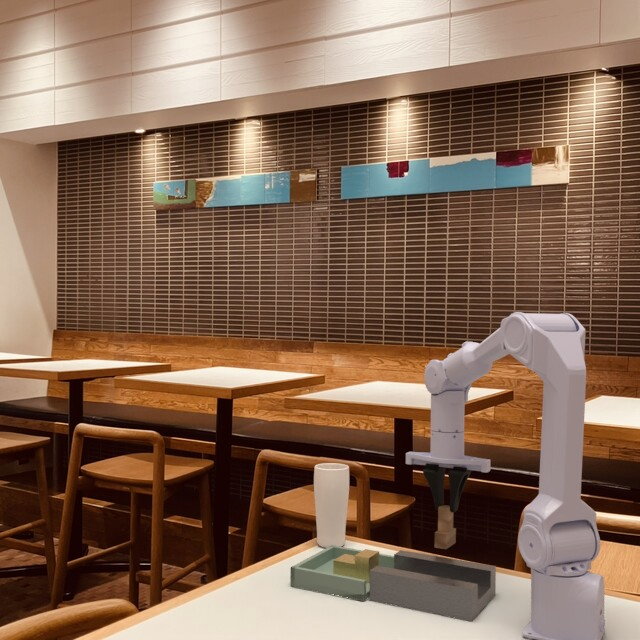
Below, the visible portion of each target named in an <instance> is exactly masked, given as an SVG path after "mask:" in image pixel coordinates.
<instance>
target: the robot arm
mask: <svg viewBox="0 0 640 640" xmlns="http://www.w3.org/2000/svg"><path fill="white" fill-rule="evenodd" d="M585 349H586V328H585V327H584V326H583V325H582V324H581V322H580V321H579V320H578V319H577V318H576V317H575V316H574V315H573V314H572V313H569V312H563V313H533V312H532V313H530V312H529V313H527V312H526V313H524V312H521V311H516V312H511V313H510V315H509V316H508V317H505V318H503V319H501V321H500V326H499V328H498V329H496V330H495V331H494V332H493V333H491V334H490V335H489V336H487V337H486V338H485V339H484V340H482V342H480V343H479V342H475V341H474V342H473V341H465V342H463V343H462V344H461V348H459V349H458V350H456V351H454V352H453V353H452V352H450V353H449V354H448V355H447V357H446V358H444V359H443V360H439V359H431V360H430V361H429V362H428V363H427V365H426V366H425V369H424V374H423V375H424V377H423V380H424V385H425V388H426V389H427V391H428V393H429V394H430V451H429V452H424V451H423V452H422V451H421V452H420V451H418V452H417V451H408V452H406V453H405V464H406V465H420V466H425V467H424V468H423V470H422V474H423V476H424V478H425V480H426V482H427V484H428V486H429V488H430V493H431V494H432V498H433V501H434V507H435V511H438V507H440V506H442V505H445V496H444V495H445V490H444V489H445V487H444V486H445V478H446V470H447V468H448V469H452V470H449V471H447V476H448V482H449V494H450V495H449V506H450V512H453V513H456V512H458V511H459V504H460V500H461V496H462V493H463V490H464V488H465V485H466V483H467V481H468V479H469V477H470V476H471V473H472V471H476V472H481V473H489V472H490V471H491V459H487V458H482V457H475V456H469V455H465V411H466V410H465V407H466V406H465V404H467V402H468V400H469V392H470V391H471V388H472V385H473V383H474V382H476V381H477V380H479V379H481V378H482V377H484V376H486V375H488V374H489V373H490V372H491V370H492V369H493V363H494V362H495V361H498V360H500V359H503V358H504V357H506V356H509V355H510V356H511V357H513V358H514V359H515V360H517V361H518V362H520V363H521V364H522V365H523V366H525V367H526V368H527V369H529V370H530V371H532V372H533V373H535V374H537V377H539V378H540V379H541V381H542V383H543V388H542V389H543V393H542V411H541V412H542V415H541V431H540V432H541V435H540V436H541V437H540V459H539V461H540V462H539V481H538V485H539V486H538V494H537V496H536V497H535V498H534V499H533V500H532V501H531V502H530V503H529V504H528V505H527V506H526V508H525V509H523V520H522V524H521V526H520V529H519V532H518V536H517V537H518V538H517V545H518V550H519V553H520V555H521V558H522V559H523V560H524V562H525V563H526V567H528V568H530V572H531V575H530V576H531V577H530V578H531V579H530V583H531V584H530V621H529V622H528V624H527V625H526V627H525V628H524V629H523V631H522V634H521V635H522V637H524V638H528V639H532V640H602V638H603V636H604V635H605V632H606V628H605V627H606V625H605V624H606V623H605V622H606V620H605V580H604V576H603V575H602V574H598V573H594V572H591V571H589V570H592V562H593V561H594V560H596V559H597V557H598V556H599V554H600V550H601V538H600V534H599V531H598V527H597V512H596V511H595V509H593V508H592V507H591V506H589V505H588V504H587V503H586V502H585V501H584V500H583V499H581V498H582V497H581V495H582V475H583V474H582V473H583V453H584V428H585V413H586V412H585V411H586V388H587V368H586V361H585V351H586V350H585Z"/></svg>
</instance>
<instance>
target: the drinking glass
mask: <svg viewBox="0 0 640 640" xmlns="http://www.w3.org/2000/svg"><path fill="white" fill-rule="evenodd" d="M313 470H314V471H313V496H314V506H315V521H316V542H317V545H318V546H319V547H322V548H324V549H326V548H328V547H330V546H331V545H333V546H339V547H344V545H345V543H346V528H347V527H346V526H347V516H348V506H349V496H350V494H349V492H350V466H349V465H348V464H344V463H334V462H327V463H326V462H324V463H318V464H315V465H314V469H313Z"/></svg>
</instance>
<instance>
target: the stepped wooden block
mask: <svg viewBox="0 0 640 640" xmlns="http://www.w3.org/2000/svg"><path fill="white" fill-rule="evenodd" d="M437 511H438V512H437V530H436V531H435V532H434V548H436V549H442V550H448V549H449V548H450V547H452V546H453V545H455V544H456V542H457V539H456V538H457V528H455V527H454V512H450V505H446V504H444V505H442V506H440V507H438V510H437Z"/></svg>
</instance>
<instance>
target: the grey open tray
mask: <svg viewBox="0 0 640 640" xmlns="http://www.w3.org/2000/svg"><path fill="white" fill-rule="evenodd" d="M393 556H394V569H393V568H388V567H382V566H376V567H374V568H373V569H371V570H370V597H369V601H371V600H373V601H372V602H376V601H378V603H381V602H382V604H386V603H387V605H390V604H392V606H395V605H397V606H396V607H400V606H401V607H400V608H405V607H406V609H409V608H410V610H414V609H415V610H414V611H419V610H420V612H424V613H430V614H433V615H438V616H443V615H444V616H443V617H448V616H450V617H449V618H453V617H455V618H454V619H457V618H460V619H459V620H462V619H463V620H462V621H467V622H473V620H475V618H476V617H478V615H479V614H480V613H481V612H482V611H483V610H484V609H485V608H486V606H487V605H488V604H489V603H490V602H491V601H492V600H493V599H494V597H495V596H496V588H497V587H496V578H497V577H496V576H497V573H496V572H497V570H496V569H497V565H491V564H485V563H479V562H474V561H468V560H462V559H455V558H448V557H444V556H438V555H433V554H431V555H430V554H427V553H426V554H425V553H421V552H414V551H410V550H409V551H408V550H402V549H401V550H400V549H399V551H397V552H396V553H394V555H393Z"/></svg>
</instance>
